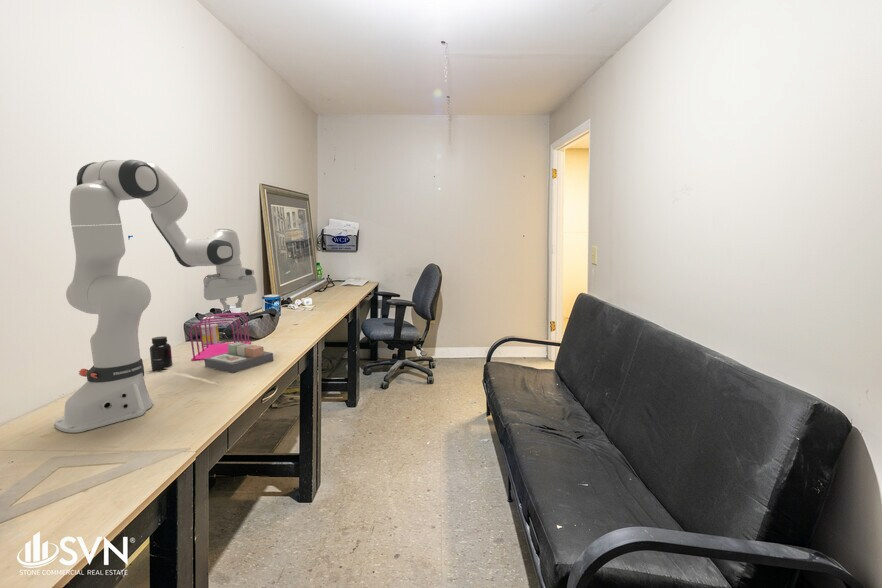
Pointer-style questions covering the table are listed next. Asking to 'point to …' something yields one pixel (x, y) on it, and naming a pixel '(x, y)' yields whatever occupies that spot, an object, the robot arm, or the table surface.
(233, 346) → the key sage
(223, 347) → the file sorter
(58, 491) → the table surface
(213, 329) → the supplement bottle
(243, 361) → the keypad base
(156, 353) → the supplement bottle
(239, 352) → the block
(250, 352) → the key terracotta
